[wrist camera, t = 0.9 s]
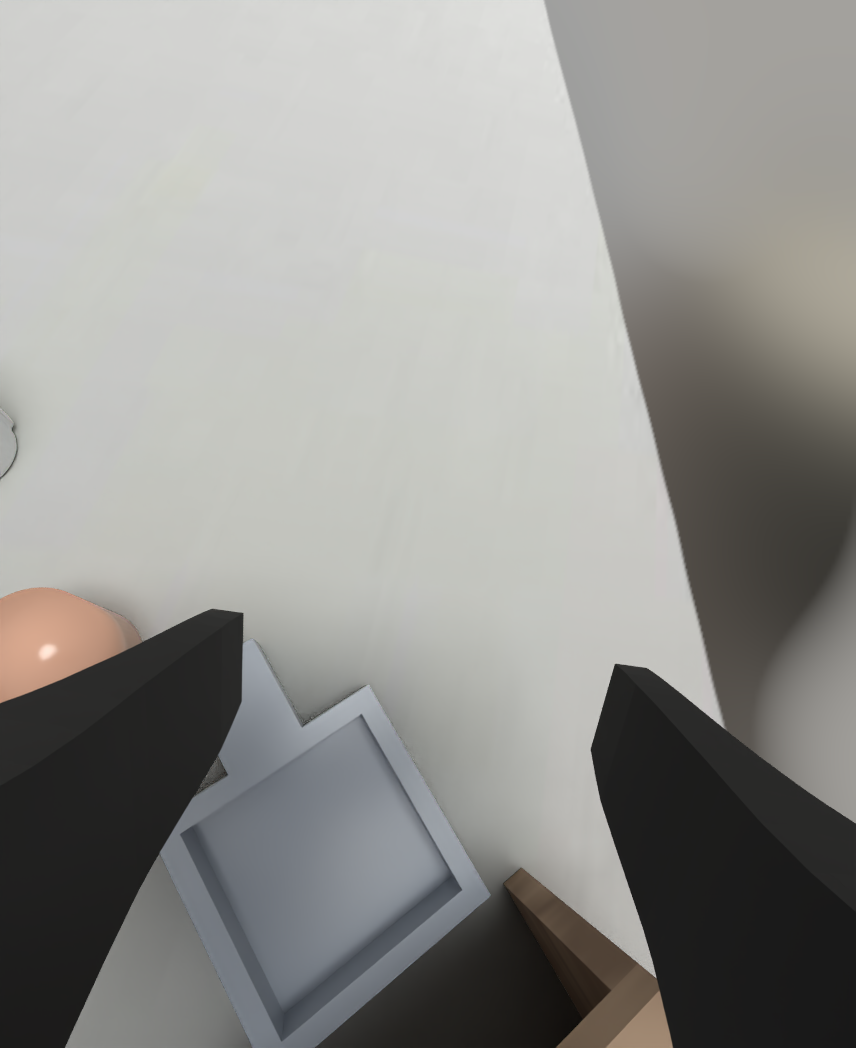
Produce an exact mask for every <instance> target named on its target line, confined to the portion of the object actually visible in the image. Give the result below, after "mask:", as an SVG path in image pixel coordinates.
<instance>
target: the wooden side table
mask: <svg viewBox="0 0 856 1048" xmlns="http://www.w3.org/2000/svg"><path fill="white" fill-rule="evenodd" d="M503 884H504V886H505V887H506V889H507V891H508V892H509V894H510V896H511V898H512V899H513V901H514V903H515V904H516V906H517V908H518V910H519V911H520V913H521V915H522V916H523V918H524V920H525V921H526V923H527V925H528V927H529V928H530V930H531V932H532V933H533V935H534V937H535V939H536V940H537V942H538V944H539V945H540V947H541V949H542V951H543V952H544V954H545V956H546V957H547V959H548V961H549V962H550V964H551V966H552V968H553V969H554V971H555V973H556V974H557V976H558V978H559V980H560V981H561V983H562V985H563V986H564V988H565V990H566V991H567V993H568V995H569V997H570V998H571V1000H572V1002H573V1003H574V1005H575V1007H576V1009H577V1010H578V1012H579V1014H580V1015H581V1017H582V1019H583V1020H582V1021H581V1022H580V1023H579V1024H578V1025H577V1026H576V1027H575V1028H574V1030H573V1031H572V1032H571V1033H570V1034H569V1035H568V1036H567V1037H566V1038H565V1039H564V1040H563V1041H562V1042H561V1043H560V1044H559V1045H558V1046H557V1047H556V1048H673V1046H672V1041H671V1036H670V1032H669V1028H668V1023H667V1019H666V1015H665V1011H664V1007H663V1003H662V998H661V994H660V990H659V986H658V982H657V979H656V978H655V977H654V976H653V975H651V974H650V973H649V972H648V971H647V970H645V969H644V968H643V967H642V966H641V965H639V964H638V963H637V962H636V961H634V960H633V959H632V958H631V957H630V956H628V955H627V954H626V953H625V952H623V951H622V950H621V949H620V948H619V947H617V946H616V945H615V944H614V943H613V942H611V941H610V940H609V939H608V938H606V937H605V936H604V935H603V934H602V933H600V932H599V931H598V930H597V929H596V928H594V927H593V926H592V925H591V924H589V923H588V922H587V921H586V920H585V919H583V918H582V917H581V916H580V915H578V914H577V913H576V912H575V911H574V910H572V909H571V908H570V907H569V906H568V905H566V904H565V903H564V902H563V901H561V900H560V899H559V898H558V897H557V896H555V895H554V894H553V893H552V892H551V891H549V890H548V889H547V888H546V887H544V886H543V885H542V884H541V883H540V882H538V881H537V880H536V879H535V878H533V877H532V876H531V875H530V874H529V873H527V872H526V871H525V870H524V869H523V868H521V869H519V870H518V871H517V872H516V873H515V874H514V875H513V876H511V877H510V878H509V879H508V880H507V881H506V882H504V883H503Z"/></svg>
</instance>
